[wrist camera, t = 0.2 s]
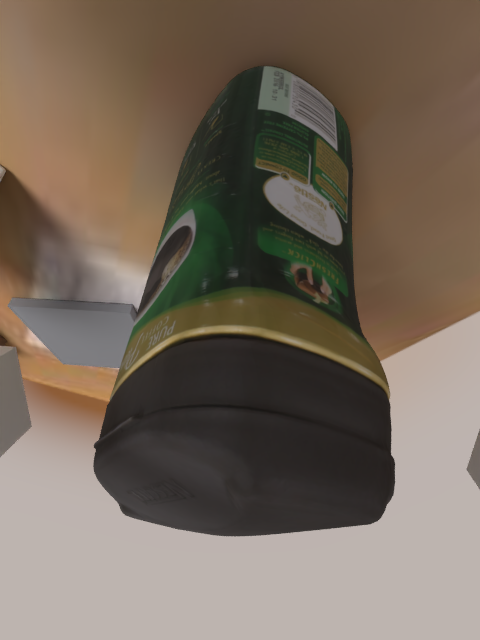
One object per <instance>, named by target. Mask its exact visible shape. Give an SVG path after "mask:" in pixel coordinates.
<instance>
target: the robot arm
mask: <svg viewBox="0 0 480 640" xmlns="http://www.w3.org/2000/svg"><path fill="white" fill-rule="evenodd" d="M30 427H31V421H30V416H29V411H28V406H27V401H26V396H25V391H24V386H23V381H22V375H21V370H20V365H19V360H18V355H17V350H16V347H11V346H0V457H1V456H2V455H3V454H4V453H5V452H6V451H7V450H8V449H9V448H10V447H11V446H12V445H13V444H14V443H15V442H16V441H17V440H18V439H19V438H20V437H21V436H22V435H23V434H24V433H25V432H26V431H27V430H28V429H30ZM467 471H468V472H469V474H470V475H471V477H472V478H473V480H474V481H475V483H476V484H477V486H478V487H479V489H480V430H479V433H478V436H477V439H476V442H475V445H474V448H473V451H472V455H471V458H470V461H469V464H468V467H467Z"/></svg>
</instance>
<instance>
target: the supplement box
mask: <svg viewBox="0 0 480 640" xmlns="http://www.w3.org/2000/svg"><path fill="white" fill-rule="evenodd" d="M5 172H6V170H5V169H4V168H3V167H2V166H1V165H0V182H1V180H2V178H3V176H4V174H5Z"/></svg>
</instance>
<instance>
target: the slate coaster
mask: <svg viewBox="0 0 480 640" xmlns="http://www.w3.org/2000/svg"><path fill="white" fill-rule="evenodd" d="M8 307H9V308H10V309H11V310H12V311H13V312H14V313H15V314H16V315H17V316H18V317H19V318H20V319H21V320H22V321H23V323H24V324H25V325H26V326H27V327H28V328H29V329H30V330H31V331H32V332H33V333H34V334H35V335H36V336H37V337H38V338H39V339H40V340H41V341H42V342H43V344H44V345H45V346H46V347H47V348H48V349H49V350H50V351H51V352H52V353H53V354H54V355H55V356H56V357H57V358H58V359H59V360H60V361H61V362H62V363H63V364H69V365H83V366H96V367H110V368H120V366H121V362H122V359H123V356H124V353H125V350H126V347H127V344H128V341H129V338H130V335H131V332H132V329H133V326H134V322H135V319H136V316H137V313H136V311H135V309H134V307H133V305H132V304H114V303H97V302H79V301H62V300H44V299H27V298H12V299H11V301H10V303H9V304H8Z"/></svg>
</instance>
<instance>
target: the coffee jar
mask: <svg viewBox="0 0 480 640" xmlns="http://www.w3.org/2000/svg"><path fill="white" fill-rule="evenodd" d="M352 164H353V163H352V151H351V141H350V134H349V130H348V127H347V124H346V122H345V121H344V119H343V117H342V116H341V114H340V113H339V112H338V110H337V109H336V108H335V107H334V106H333V105H332V104H331V103H330V101H329V100H328V99H327V98H326V97H325V96H324V95H323V94H322V93H320V92H319V91H318V90H317V89H316V88H314V87H313V86H312V85H310V84H309V83H308V82H306V81H305V80H303V79H301V78H300V77H298V76H296V75H295V74H293V73H291V72H289V71H287V70H285V69H282V68H278V67H275V66H258V67H254V68H251V69H248V70H245V71H243V72H242V73H240V74H238V75H237V76H236V77H235V78H233V79H232V80H231V81H230V82H229V83H228V84H227V86H226V87H225V88H224V89H223V90H222V92H221V93H220V94H219V95H218V97H217V98H216V100H215V102H214V103H213V104H212V106H211V107H210V109H209V110H208V111H207V113H206V115H205V116H204V118H203V120H202V121H201V123H200V125H199V127H198V128H197V130H196V132H195V134H194V136H193V138H192V140H191V142H190V144H189V146H188V148H187V151H186V153H185V156H184V159H183V161H182V164H181V167H180V170H179V174H178V177H177V180H176V184H175V187H174V191H173V194H172V198H171V202H170V205H169V209H168V213H167V217H166V220H165V223H164V227H163V230H162V234H161V237H160V240H159V243H158V247H157V250H156V253H155V257H154V260H153V263H152V267H151V270H150V273H149V276H148V280H147V283H146V287H145V290H144V293H143V296H142V300H141V303H140V306H139V309H138V313H137V316H136V319H135V322H134V326H133V329H132V332H131V335H130V338H129V341H128V344H127V347H126V350H125V353H124V356H123V359H122V362H121V366H120V369H119V373H118V376H117V379H116V382H115V385H114V388H113V391H112V394H111V397H110V402H109V404H108V405H107V409H106V414H105V418H104V422H103V426H102V430H101V434H100V438H99V440H98V441H97V442H96V443H95V444H94V448H95V449H96V452H95V457H94V472H95V474H96V477H97V479H98V481H99V482H100V483H101V485H102V486H103V487H104V488H105V490H106V491H107V492H108V493H109V494H110V495H111V496H112V497H113V498H114V499H115V500H116V501H117V502H118V504H119V506H120V509H121V511H122V512H123V513H124V514H125V515H126V516H129V517H132V518H136V519H139V520H143V521H147V522H151V523H155V524H159V525H163V526H167V527H171V528H175V529H180V530H186V531H192V532H198V533H204V534H210V535H219V536H256V535H270V534H281V533H291V532H301V531H311V530H320V529H330V528H340V527H349V526H358V525H368V524H372V523H374V522H376V521H378V520H379V519H380V518H381V516H382V515H383V513H384V511H385V508H386V506H387V504H388V503H389V501H390V500H391V498H392V496H393V493H394V485H395V462H394V459H393V457H392V456H391V418H390V403H389V398H390V391H389V386H388V382H387V378H386V375H385V373H384V370H383V368H382V365H381V363H380V361H379V359H378V357H377V355H376V353H375V352H374V350H373V349H372V347H371V346H370V344H369V343H368V342H367V340H366V338H365V337H364V335H363V333H362V331H361V328H360V323H359V319H358V313H357V307H356V300H355V290H354V274H353V247H352V176H353V168H352Z"/></svg>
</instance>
